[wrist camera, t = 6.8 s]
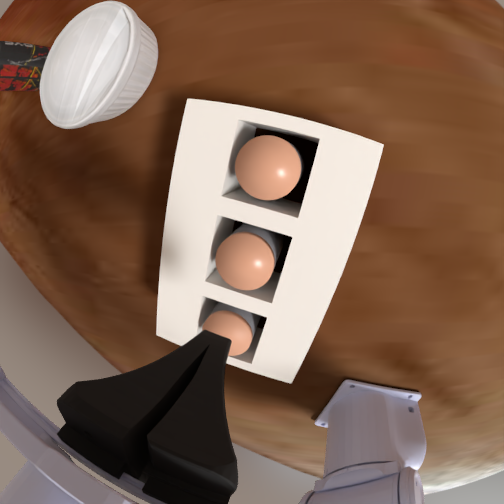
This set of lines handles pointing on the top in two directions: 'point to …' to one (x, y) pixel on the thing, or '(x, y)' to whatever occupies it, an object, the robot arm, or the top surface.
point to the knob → (268, 167)
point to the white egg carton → (265, 216)
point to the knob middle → (248, 256)
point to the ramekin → (97, 66)
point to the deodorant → (21, 66)
